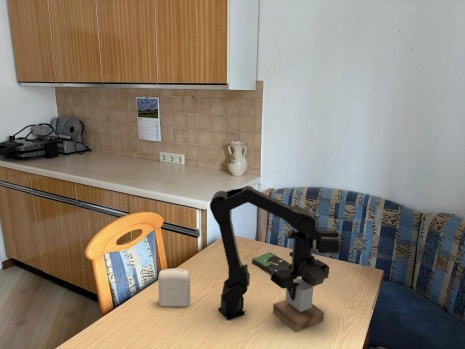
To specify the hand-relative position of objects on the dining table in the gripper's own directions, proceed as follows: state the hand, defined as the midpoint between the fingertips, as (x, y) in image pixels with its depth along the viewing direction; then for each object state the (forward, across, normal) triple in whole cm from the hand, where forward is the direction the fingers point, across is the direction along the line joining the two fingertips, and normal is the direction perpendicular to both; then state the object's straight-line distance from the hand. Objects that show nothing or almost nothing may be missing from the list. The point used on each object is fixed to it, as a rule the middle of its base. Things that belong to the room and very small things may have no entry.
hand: (298, 297), depth 110 cm
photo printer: (+7, -31, +25) cm, 40 cm away
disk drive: (+7, +13, +30) cm, 33 cm away
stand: (+6, 0, 0) cm, 6 cm away
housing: (+2, 0, 0) cm, 2 cm away
